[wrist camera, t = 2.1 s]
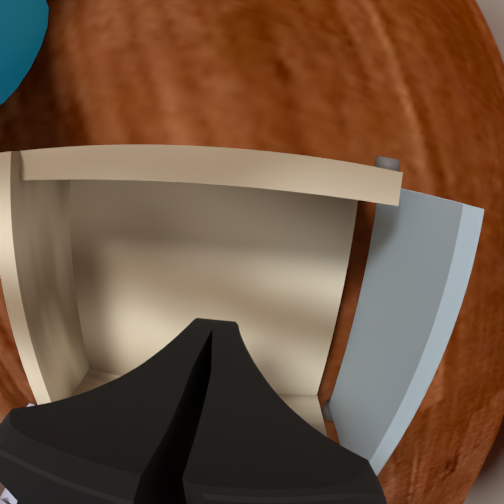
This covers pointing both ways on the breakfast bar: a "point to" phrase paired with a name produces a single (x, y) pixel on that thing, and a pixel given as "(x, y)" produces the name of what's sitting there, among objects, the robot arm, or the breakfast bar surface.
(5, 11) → the mug
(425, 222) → the panel
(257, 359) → the box
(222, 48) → the breakfast bar surface
